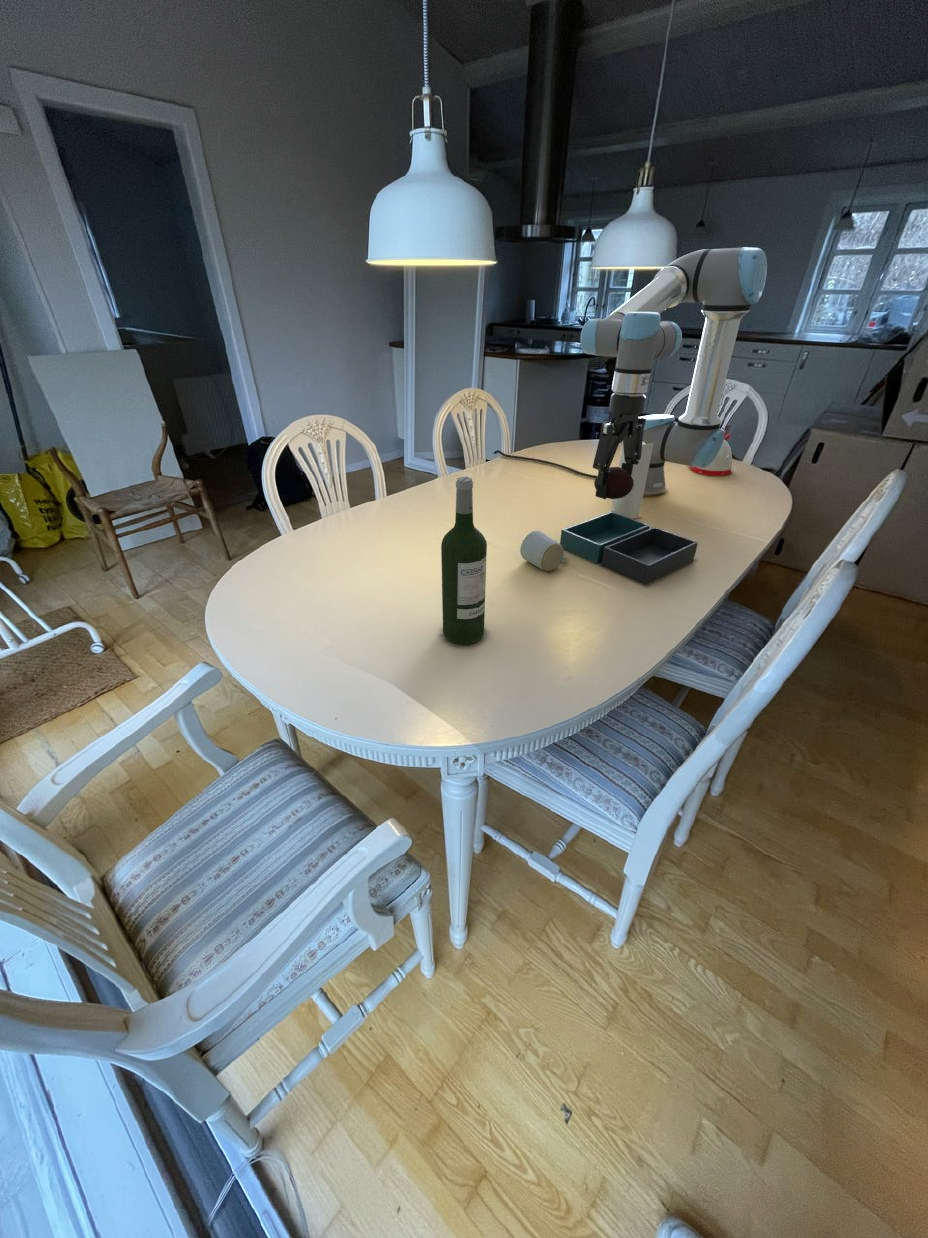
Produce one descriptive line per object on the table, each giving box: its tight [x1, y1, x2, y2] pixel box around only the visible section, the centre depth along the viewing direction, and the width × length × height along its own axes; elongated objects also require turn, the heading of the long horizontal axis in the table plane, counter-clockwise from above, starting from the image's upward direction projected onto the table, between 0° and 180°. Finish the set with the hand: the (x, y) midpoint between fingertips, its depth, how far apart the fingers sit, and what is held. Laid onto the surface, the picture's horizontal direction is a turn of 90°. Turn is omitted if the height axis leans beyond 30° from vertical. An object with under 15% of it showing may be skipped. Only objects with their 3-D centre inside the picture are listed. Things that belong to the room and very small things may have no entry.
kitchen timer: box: [689, 427, 733, 477], centre depth 184 cm, size 14×14×15 cm
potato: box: [593, 466, 634, 500], centre depth 123 cm, size 8×9×8 cm
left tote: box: [559, 511, 651, 565], centre depth 130 cm, size 12×20×5 cm, turn 129°
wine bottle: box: [440, 476, 488, 646], centre depth 89 cm, size 8×8×30 cm
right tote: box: [600, 526, 699, 586], centre depth 122 cm, size 12×20×5 cm, turn 129°
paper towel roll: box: [610, 441, 654, 519], centre depth 142 cm, size 7×6×21 cm
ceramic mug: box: [519, 530, 568, 572], centre depth 120 cm, size 11×8×8 cm
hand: (612, 493), depth 124 cm, fingers closed on potato, 8 cm apart
